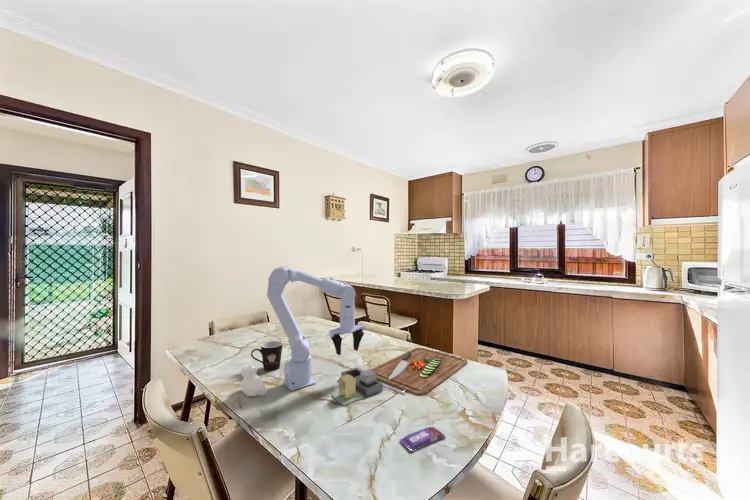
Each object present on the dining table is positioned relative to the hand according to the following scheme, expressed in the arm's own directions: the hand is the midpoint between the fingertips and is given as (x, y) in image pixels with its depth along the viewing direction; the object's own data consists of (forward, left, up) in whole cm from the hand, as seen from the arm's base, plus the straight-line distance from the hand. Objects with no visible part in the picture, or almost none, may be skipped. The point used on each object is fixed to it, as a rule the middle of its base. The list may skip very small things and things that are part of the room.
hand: (347, 352), depth 107 cm
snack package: (-2, -41, -11) cm, 43 cm away
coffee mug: (-21, +29, -11) cm, 37 cm away
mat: (-7, -11, -10) cm, 17 cm away
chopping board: (+30, -9, -11) cm, 33 cm away
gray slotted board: (+2, -7, -10) cm, 13 cm away
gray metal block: (+2, -11, -10) cm, 15 cm away
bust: (-32, +10, -11) cm, 35 cm away
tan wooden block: (-7, -11, -10) cm, 16 cm away
